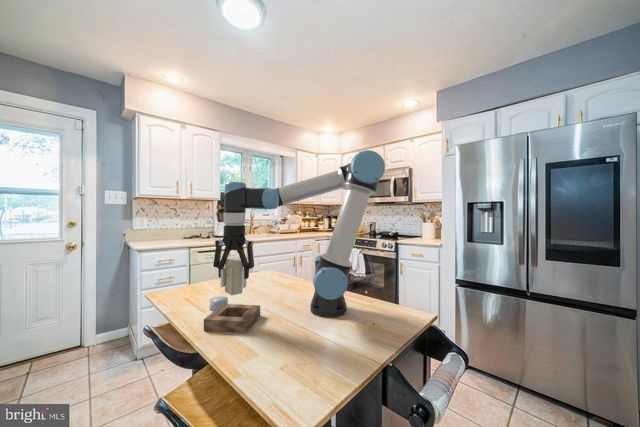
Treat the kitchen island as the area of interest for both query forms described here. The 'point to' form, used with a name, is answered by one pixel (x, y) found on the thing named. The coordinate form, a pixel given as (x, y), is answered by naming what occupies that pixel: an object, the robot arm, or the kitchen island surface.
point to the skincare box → (233, 276)
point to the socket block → (232, 318)
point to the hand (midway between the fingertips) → (233, 286)
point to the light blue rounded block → (217, 302)
